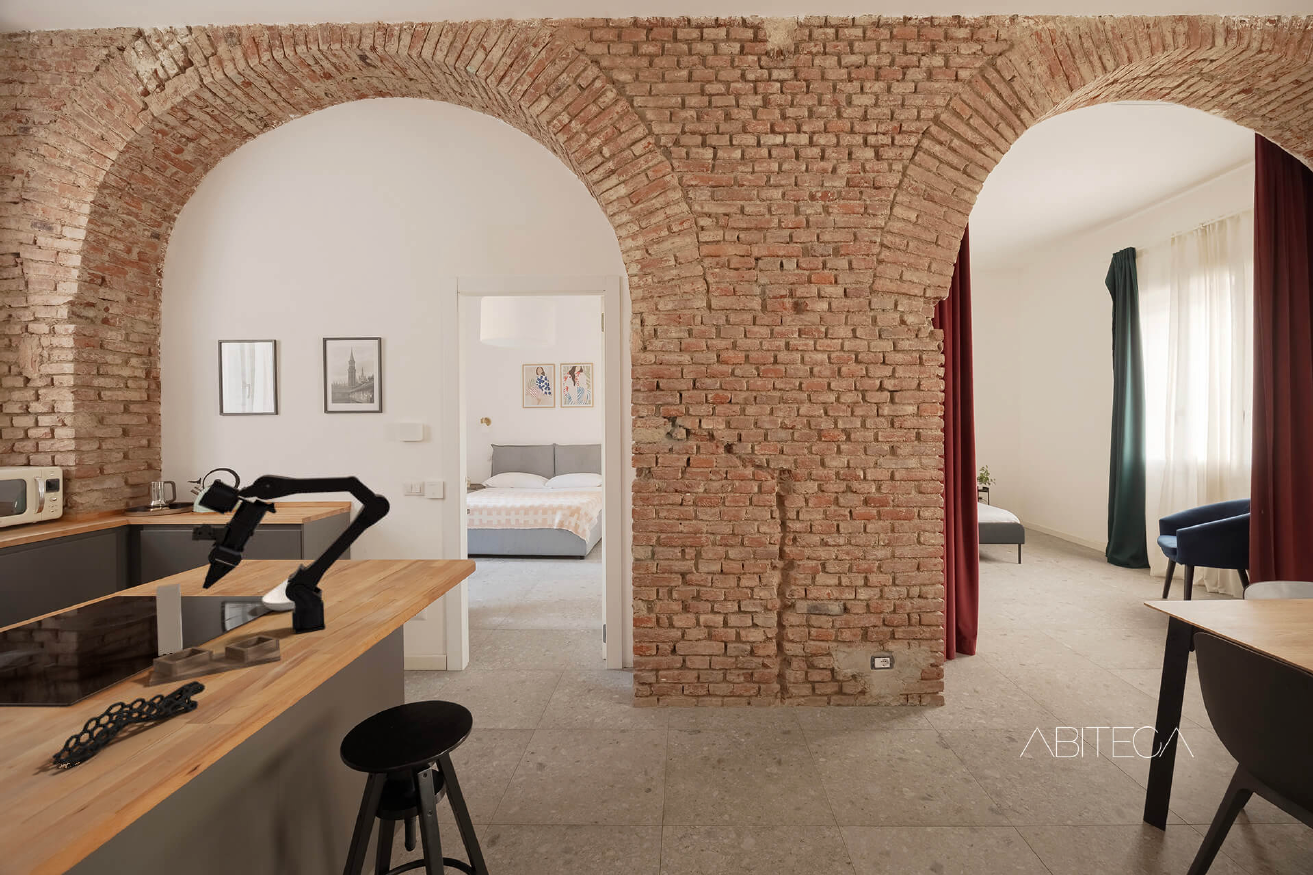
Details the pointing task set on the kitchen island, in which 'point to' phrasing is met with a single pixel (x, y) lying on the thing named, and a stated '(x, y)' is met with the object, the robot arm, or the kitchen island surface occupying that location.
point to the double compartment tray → (214, 659)
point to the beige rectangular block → (169, 619)
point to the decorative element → (128, 721)
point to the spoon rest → (278, 599)
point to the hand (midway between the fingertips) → (205, 584)
